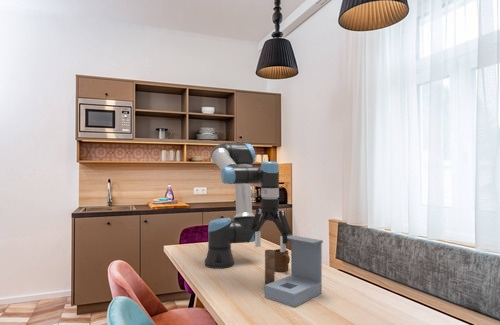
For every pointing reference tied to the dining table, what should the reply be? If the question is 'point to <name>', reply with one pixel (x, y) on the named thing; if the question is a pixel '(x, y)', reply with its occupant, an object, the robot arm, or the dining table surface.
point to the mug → (281, 260)
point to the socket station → (299, 273)
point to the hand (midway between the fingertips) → (270, 249)
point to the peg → (269, 266)
